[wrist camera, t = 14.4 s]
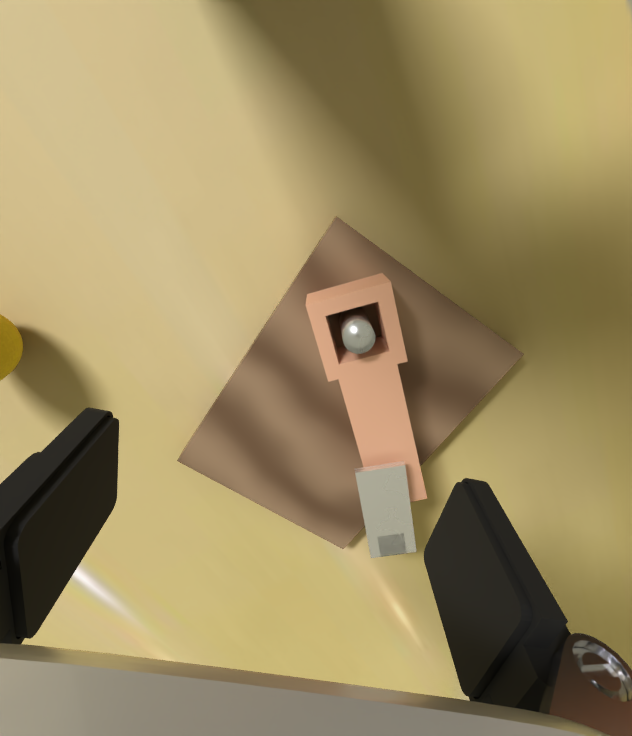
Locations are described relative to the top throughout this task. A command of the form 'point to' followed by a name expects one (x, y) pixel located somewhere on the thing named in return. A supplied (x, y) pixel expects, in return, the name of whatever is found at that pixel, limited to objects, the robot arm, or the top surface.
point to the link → (370, 376)
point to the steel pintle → (356, 330)
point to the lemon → (9, 347)
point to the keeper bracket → (386, 509)
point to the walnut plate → (338, 392)
